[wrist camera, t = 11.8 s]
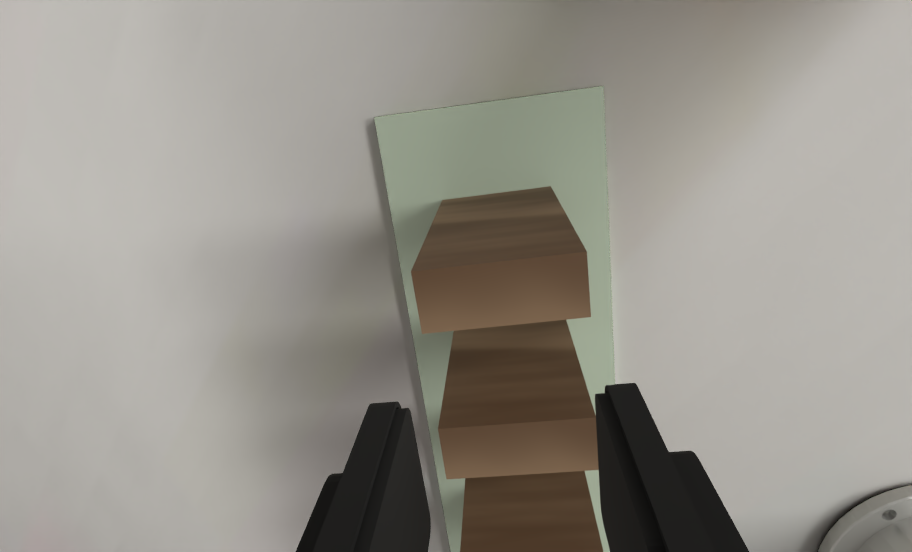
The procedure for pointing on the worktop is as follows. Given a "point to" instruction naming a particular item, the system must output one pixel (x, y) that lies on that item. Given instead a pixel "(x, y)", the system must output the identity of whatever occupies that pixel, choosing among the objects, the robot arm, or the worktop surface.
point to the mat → (494, 171)
